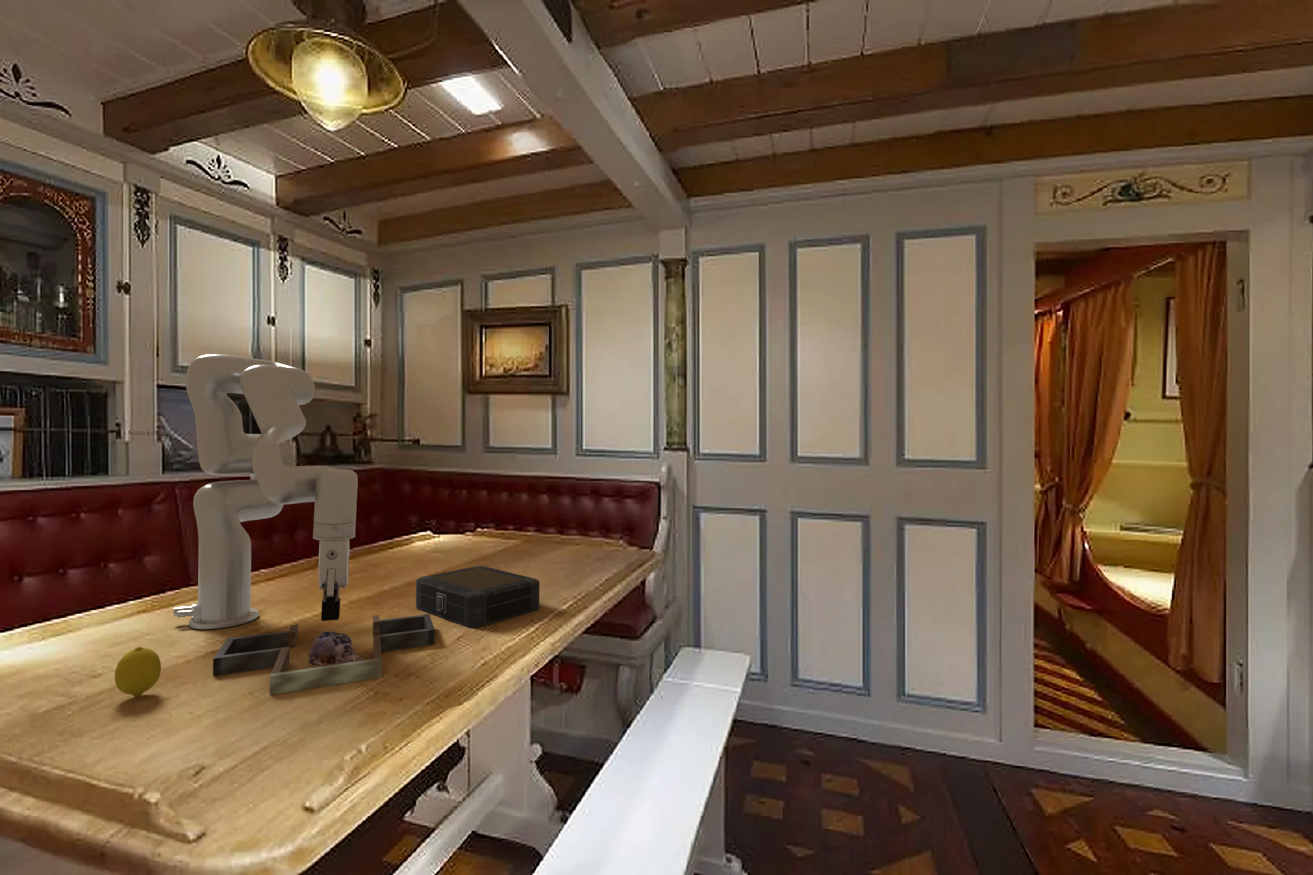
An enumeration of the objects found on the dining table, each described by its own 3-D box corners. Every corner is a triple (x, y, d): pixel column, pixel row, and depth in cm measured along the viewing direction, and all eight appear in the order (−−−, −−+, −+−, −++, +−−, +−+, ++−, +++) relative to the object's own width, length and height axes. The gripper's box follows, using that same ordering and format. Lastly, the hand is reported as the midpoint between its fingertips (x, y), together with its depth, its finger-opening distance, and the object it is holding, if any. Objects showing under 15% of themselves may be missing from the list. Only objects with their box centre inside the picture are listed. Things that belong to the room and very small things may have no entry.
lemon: (168, 692, 94) (169, 643, 94) (128, 707, 89) (128, 655, 89) (146, 687, 96) (147, 639, 96) (105, 701, 91) (106, 650, 91)
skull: (375, 671, 104) (375, 637, 104) (330, 685, 98) (331, 649, 98) (344, 655, 111) (345, 623, 111) (301, 667, 105) (301, 634, 105)
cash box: (410, 609, 141) (410, 578, 141) (481, 592, 157) (481, 564, 157) (470, 631, 126) (471, 596, 126) (542, 610, 142) (542, 579, 142)
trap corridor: (192, 707, 89) (192, 687, 89) (231, 647, 114) (231, 631, 114) (441, 667, 105) (441, 651, 105) (427, 622, 130) (427, 609, 130)
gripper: (354, 536, 112) (349, 629, 112) (356, 523, 126) (352, 606, 126) (309, 538, 109) (304, 634, 109) (316, 524, 122) (312, 609, 123)
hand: (330, 619), depth 117 cm, fingers closed
